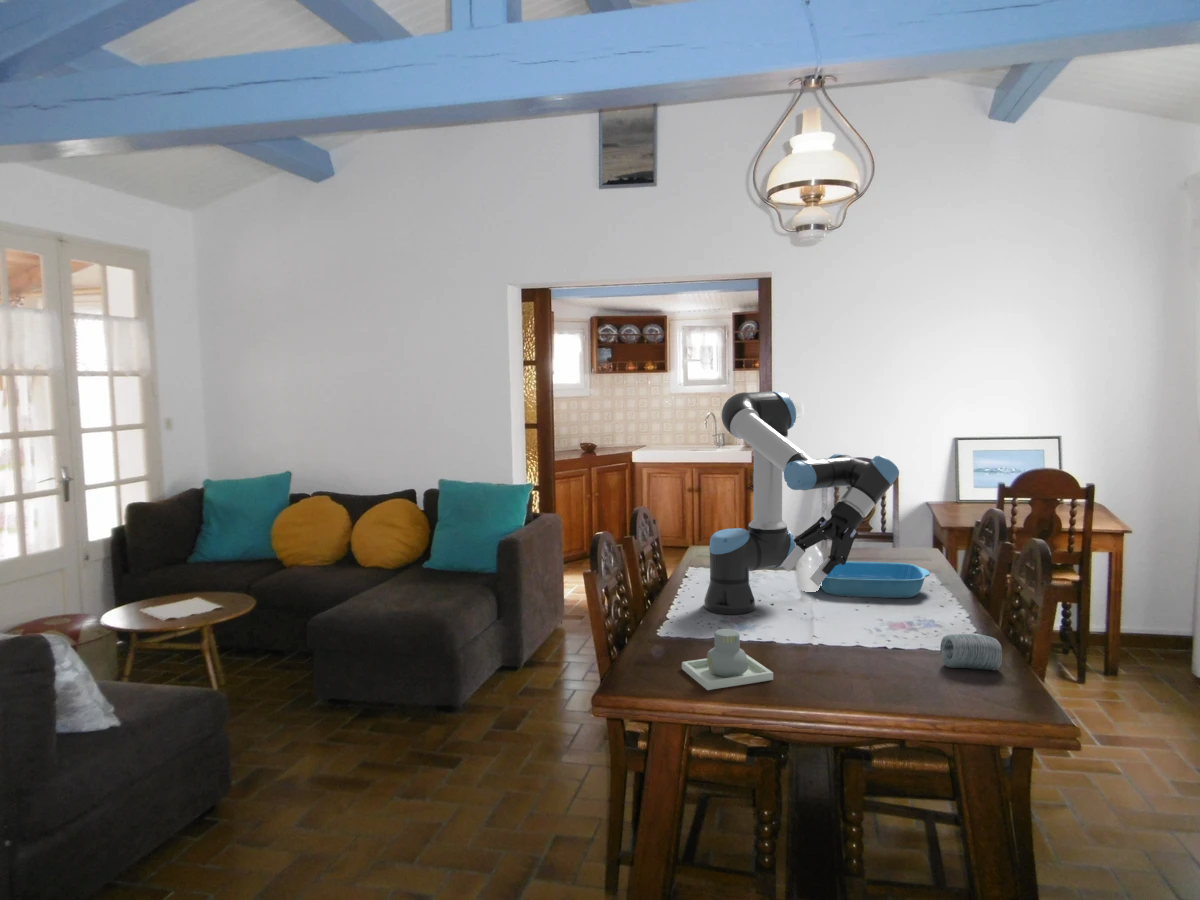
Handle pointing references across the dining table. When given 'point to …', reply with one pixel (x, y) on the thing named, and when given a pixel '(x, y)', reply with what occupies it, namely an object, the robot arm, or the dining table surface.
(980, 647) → the spool
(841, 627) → the dining table surface
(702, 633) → the dining table surface
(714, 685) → the sage tray
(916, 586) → the casserole dish
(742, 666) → the air freshener
